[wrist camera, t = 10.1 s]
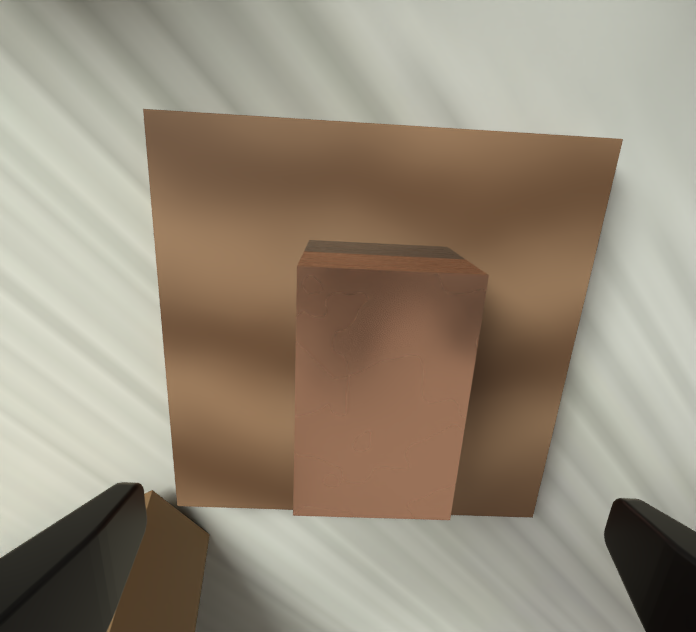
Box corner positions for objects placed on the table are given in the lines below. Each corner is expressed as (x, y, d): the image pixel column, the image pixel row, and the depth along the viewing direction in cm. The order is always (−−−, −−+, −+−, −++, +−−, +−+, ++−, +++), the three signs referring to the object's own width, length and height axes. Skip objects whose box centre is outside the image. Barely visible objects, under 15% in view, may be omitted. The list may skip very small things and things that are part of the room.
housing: (447, 246, 16) (489, 275, 11) (418, 475, 19) (442, 567, 14) (309, 240, 15) (297, 266, 11) (303, 472, 18) (292, 564, 14)
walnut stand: (166, 116, 16) (143, 109, 14) (590, 143, 16) (622, 139, 14) (192, 475, 21) (177, 505, 19) (515, 486, 21) (532, 517, 19)
